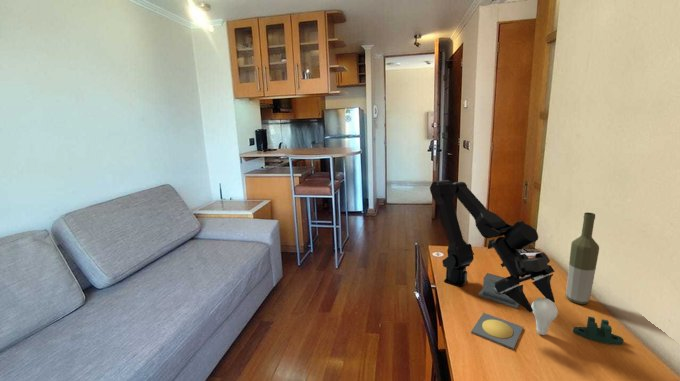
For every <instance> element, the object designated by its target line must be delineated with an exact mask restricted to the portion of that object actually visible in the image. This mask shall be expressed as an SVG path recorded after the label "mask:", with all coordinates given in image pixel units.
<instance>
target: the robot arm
mask: <svg viewBox="0 0 680 381" xmlns="http://www.w3.org/2000/svg"><path fill="white" fill-rule="evenodd" d="M429 191H430V194H431V196H432V198H433V201H434V202H435V203H437V204H438V206H439V209H440V212H441V216H442V221H443V225H444V227H445V231H446V235H447V239H448V247H447V252H446V253H447V257H446V258H444V259H443V260H442V266H443V267H444V268H446V271H445V273H446V274H445V279H444V280H443V282H444V283H447V284H450V285H453V286H457V287H459V288H463V287H462V286H464V284H465V283H467V281H468V271H467V267H470V265H471V263H472V262H473V260H474V259H475V258H474V255H475V253H474V251H473V246H472V244H471V243H467V242H466V241H465V240H464V237H463V233H462V230H461V226H460V223H459V221H458V220H459V219H458V216H457V213H456V209H455V205H454V199H455V197H456V198H457V199H458V201H459V202H460V204H462V205H463V206H464V208H465V209H466V210H467V212H468V213H469V214H470V215H471V216H472V217H473V219H474V221H475V222H474V223H475V227H476V229H477V231H478V232H479V234H480V235H481V236H482V237H483V238H485V239H489V240H488V245H487V249H488V250H490V249H491V250H492V249H494V251H495V253H496V254H497V255H498V257H499V259H500V260H501V262H502V263H500V266H501V267H502V268H504V267H505V269H506V270H507V271H508V274H509V276H506V277H504V278H503V279H501V280H499V281H497V282H495V288H496V290H497V292H498V293H499V292H502V291H505V292H503V293H502V294H503V295H504V294H505V295H507V296H508V297H510V298H511V299H513V300H514V301H516V302H517V303H518V304H519V306H521V307H522V308H523V309H525V310H526V311H527V312H528V313H533V309H532V307H531V306H532V304H531V303H530V302H529V300H528V298H527V296H526V294H525V292H524V285H523V284H521V283H523V282H526V281H529V280H531V281H532V284H533V285H534V287H535V288H536V289H537V290H538V291H539V292H540V294H542V295H543V297H544V298H547V299H549V300H551V301H552V302H553V303H554V304H555V303H556V301H555V297H554V293H553V289H552V284H551V280H552V277H553V276H554V273H555V269H554V268H553V267H552V265H550V264H549V263H550V262H551V260H550V258H549V257H548V255H547V254H546V253H545V251H544V252H543V251H542V252H538V253H535V254H534V256H533V257H529V256H528V255H527V254H526V253H521V250H523V249H525V248H527V247H528V246H530V245H532V244H534V243H535V242H537V241H538V240H539V233H538V232H537V230H536V229H535V228H534V227H533V226H531V225H529V224H527V223H525V221H524V220H519V221H517V222H515V223H514V224H513V225H511V224H509V223H507V222H506V221H505V220H504V219H503V218H501V217H500V216H499V215H498V214H497V213H495V212H492V211H490V210H488V209H487V208H486V206H485V205H484V204H483V203H482V202H481V201H480V200H479V199H478V198H477V196H476V195H475V194H474V193H473V191H471V190H470V189H469V187H468V184H466V182H464V181H459V182H458V181H450V180H449V179H445V180H444V179H443V180H438V181H433V182H432V183H431V184H430V186H429ZM495 238H496V239H495Z"/></svg>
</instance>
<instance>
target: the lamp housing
mask: <svg viewBox="0 0 680 381" xmlns="http://www.w3.org/2000/svg"><path fill="white" fill-rule="evenodd" d="M503 278H505V276H500V275H496V274H493V273H489V272H487V273H486V274H485V276H484V277H483V284H482V288H481V290H480V291H479V293H478V297H480V298H483V299H486V300H490V301H492V302H495V303H499V304H502V305H505V306H508V307H510V308H514V309H518V308H519V306H520V305H519V304H518V303H517V302H516V301H514V300H513V299H511V298H510V297H508V296H507V295H505V294H504V295H503V294H502V293H503V292H505V291H502V292H499V293H498V292H497V290H496V288H495V282H497V281H499V280H501V279H503Z"/></svg>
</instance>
